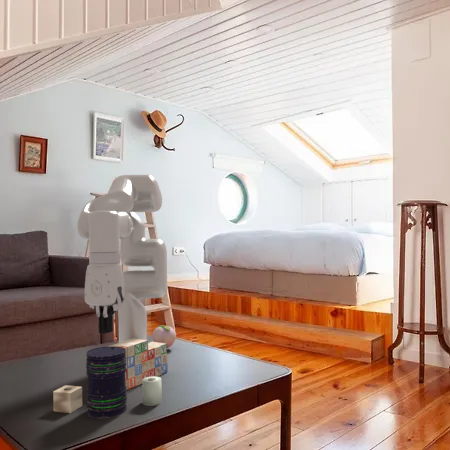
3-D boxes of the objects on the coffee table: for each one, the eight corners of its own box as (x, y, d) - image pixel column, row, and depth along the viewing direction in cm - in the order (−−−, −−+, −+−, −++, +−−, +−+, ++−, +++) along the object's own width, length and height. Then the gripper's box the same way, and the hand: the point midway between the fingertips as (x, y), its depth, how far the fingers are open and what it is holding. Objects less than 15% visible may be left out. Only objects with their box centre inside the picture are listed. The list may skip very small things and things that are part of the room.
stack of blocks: (152, 369, 151) (152, 332, 152) (168, 372, 148) (167, 333, 148) (104, 389, 133) (103, 346, 133) (120, 393, 130) (119, 349, 130)
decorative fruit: (181, 349, 177) (180, 322, 177) (164, 353, 171) (163, 326, 171) (165, 345, 183) (165, 320, 183) (148, 349, 177) (148, 323, 177)
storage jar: (112, 420, 111) (111, 357, 111) (78, 415, 114) (77, 354, 114) (134, 405, 120) (133, 347, 120) (102, 401, 123) (101, 345, 124)
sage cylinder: (138, 403, 121) (138, 380, 121) (151, 397, 126) (150, 374, 126) (152, 407, 119) (152, 383, 119) (165, 401, 123) (165, 377, 123)
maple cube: (53, 411, 117) (53, 391, 118) (66, 404, 122) (65, 384, 122) (70, 413, 116) (70, 392, 116) (82, 406, 121) (82, 386, 121)
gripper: (73, 260, 118) (74, 332, 118) (114, 260, 110) (115, 338, 110) (96, 258, 125) (97, 327, 124) (136, 259, 117) (138, 332, 116)
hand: (105, 332), depth 117 cm, fingers closed
